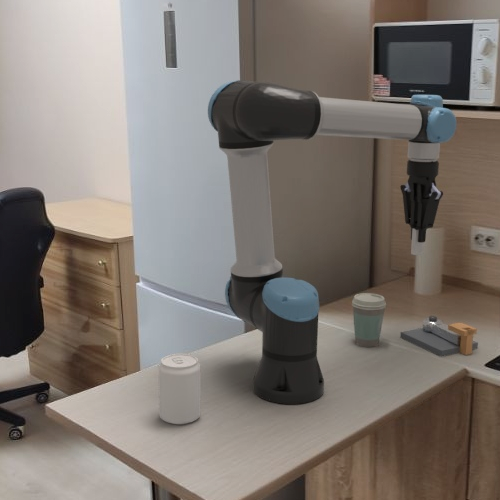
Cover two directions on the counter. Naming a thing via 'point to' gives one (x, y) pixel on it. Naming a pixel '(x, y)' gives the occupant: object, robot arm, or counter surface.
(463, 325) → the block
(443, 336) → the link
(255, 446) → the counter surface
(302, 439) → the counter surface
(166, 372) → the beverage can
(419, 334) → the board
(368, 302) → the coffee cup
